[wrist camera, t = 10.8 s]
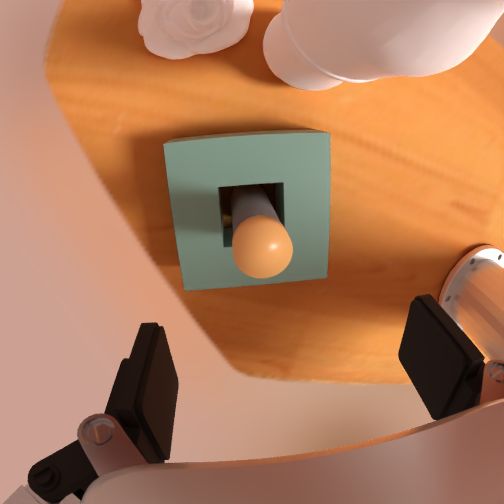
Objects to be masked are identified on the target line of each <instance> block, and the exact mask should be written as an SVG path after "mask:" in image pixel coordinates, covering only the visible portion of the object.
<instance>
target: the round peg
mask: <svg viewBox="0 0 504 504" xmlns="http://www.w3.org/2000/svg"><path fill="white" fill-rule="evenodd" d="M231 211H232V224H233V239H232V246H233V257H234V261H235V263H236V265H237V267H238V268H239V269H240V270H241V271H242V272H243V273H245V274H246V275H248V276H250V277H253V278H269V277H273V276H275V275H277V274H279V273H280V272H282V271H283V270H284V269H285V268H286V267H287V266H288V264H289V262H290V260H291V258H292V254H293V245H292V242H291V239H290V237H289V235H288V233H287V231H286V229H285V227H284V226H283V225H282V223H281V222H280V220H279V218H278V216H277V214H276V212H275V210H274V208H273V206H272V204H271V202H270V200H269V198H268V196H267V194H266V192H265V191H264V189H263V188H262V187H261V186H260V185H258V184H249V185H239V186H238V187H236V188H235V190H234V191H233V193H232V195H231Z"/></svg>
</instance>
